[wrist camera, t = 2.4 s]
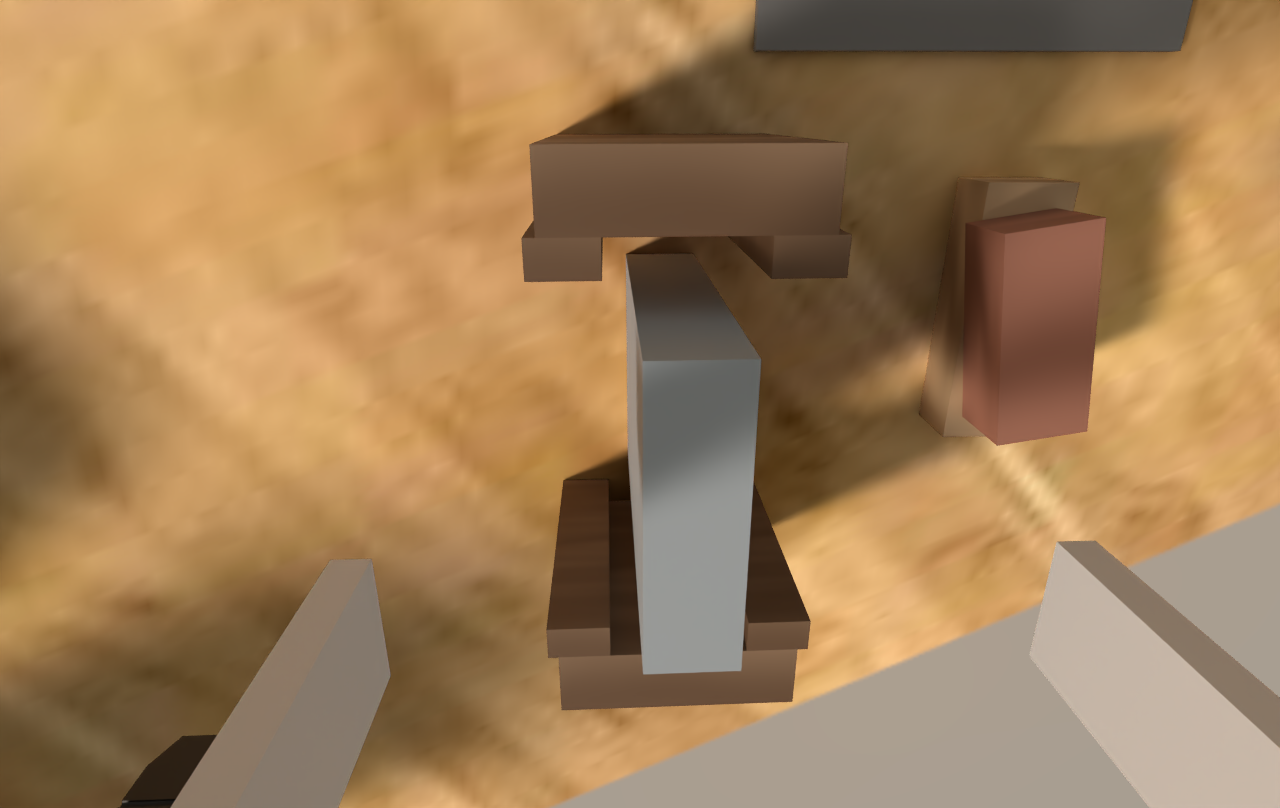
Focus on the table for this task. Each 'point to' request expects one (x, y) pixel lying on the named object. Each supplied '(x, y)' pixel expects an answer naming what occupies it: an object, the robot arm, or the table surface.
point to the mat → (971, 25)
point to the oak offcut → (946, 349)
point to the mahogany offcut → (1030, 323)
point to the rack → (589, 523)
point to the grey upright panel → (689, 464)
